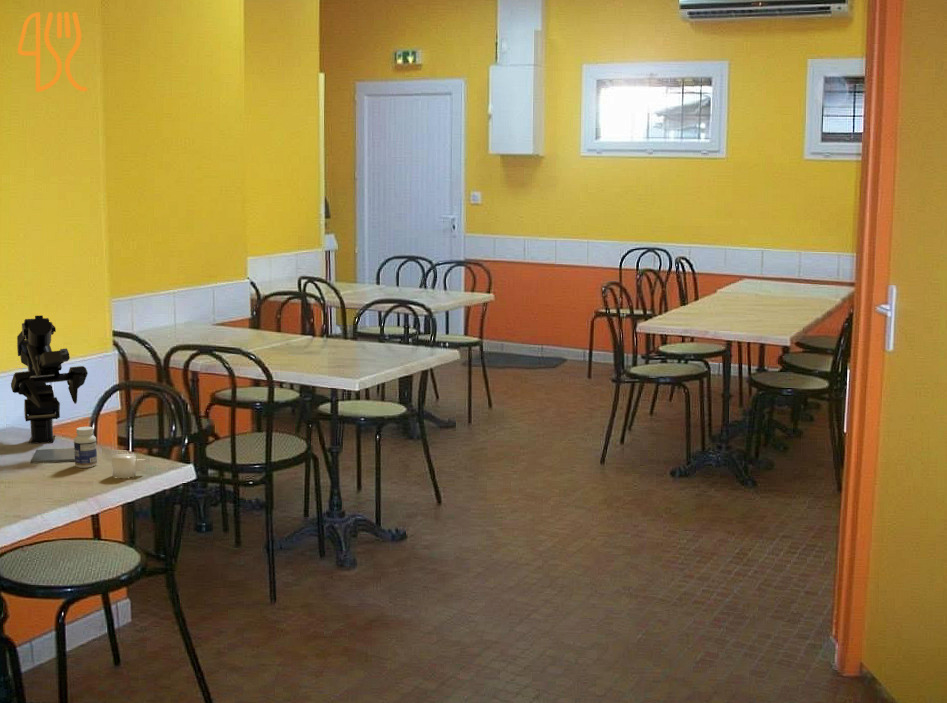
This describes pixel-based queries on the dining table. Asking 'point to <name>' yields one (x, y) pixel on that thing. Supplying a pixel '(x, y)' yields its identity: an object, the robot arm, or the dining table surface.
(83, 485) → the dining table surface
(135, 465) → the espresso cup
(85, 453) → the pill bottle
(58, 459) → the slate coaster
